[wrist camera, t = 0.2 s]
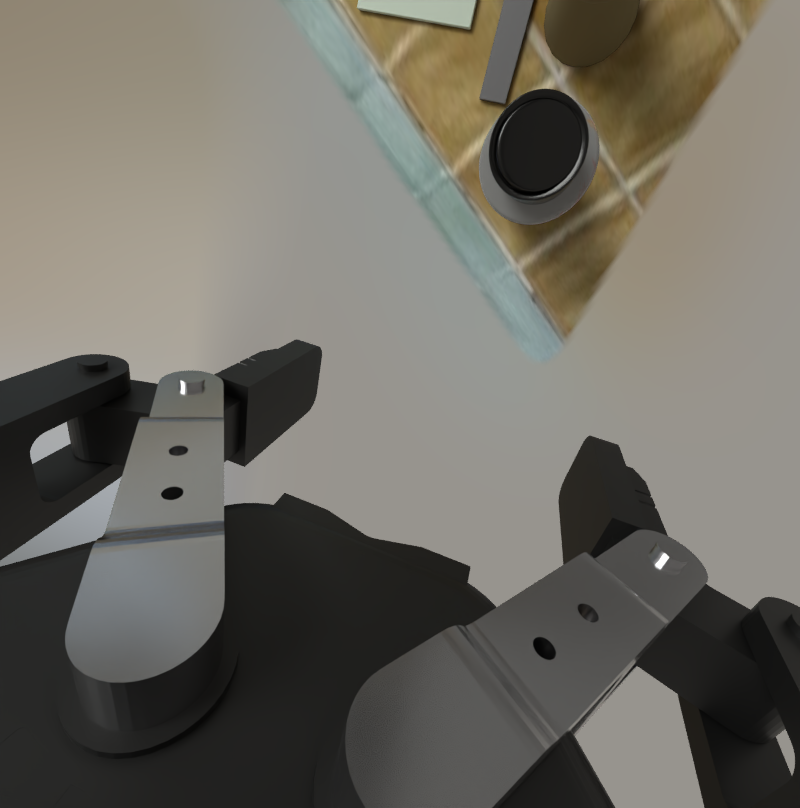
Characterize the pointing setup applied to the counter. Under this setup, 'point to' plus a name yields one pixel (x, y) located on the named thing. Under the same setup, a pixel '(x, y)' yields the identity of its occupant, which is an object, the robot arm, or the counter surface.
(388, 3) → the mat
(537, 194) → the lotion bottle
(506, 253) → the counter surface
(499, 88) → the charcoal line
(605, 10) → the cork
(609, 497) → the robot arm
